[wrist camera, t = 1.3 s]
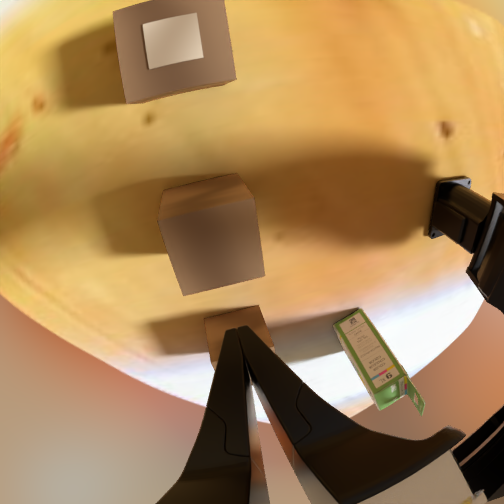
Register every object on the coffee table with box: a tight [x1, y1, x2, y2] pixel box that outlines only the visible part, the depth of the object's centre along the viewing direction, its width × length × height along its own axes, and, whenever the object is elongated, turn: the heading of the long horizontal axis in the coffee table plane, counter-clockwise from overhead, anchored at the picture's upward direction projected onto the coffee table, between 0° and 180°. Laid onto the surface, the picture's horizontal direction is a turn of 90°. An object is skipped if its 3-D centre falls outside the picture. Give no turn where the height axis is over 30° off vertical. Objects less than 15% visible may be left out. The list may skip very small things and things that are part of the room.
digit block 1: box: [113, 0, 236, 104], centre depth 11 cm, size 5×5×5 cm
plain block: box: [157, 173, 265, 296], centre depth 17 cm, size 5×5×5 cm
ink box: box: [333, 308, 425, 416], centre depth 25 cm, size 7×4×13 cm, turn 29°
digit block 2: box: [204, 305, 275, 385], centre depth 23 cm, size 5×5×5 cm
